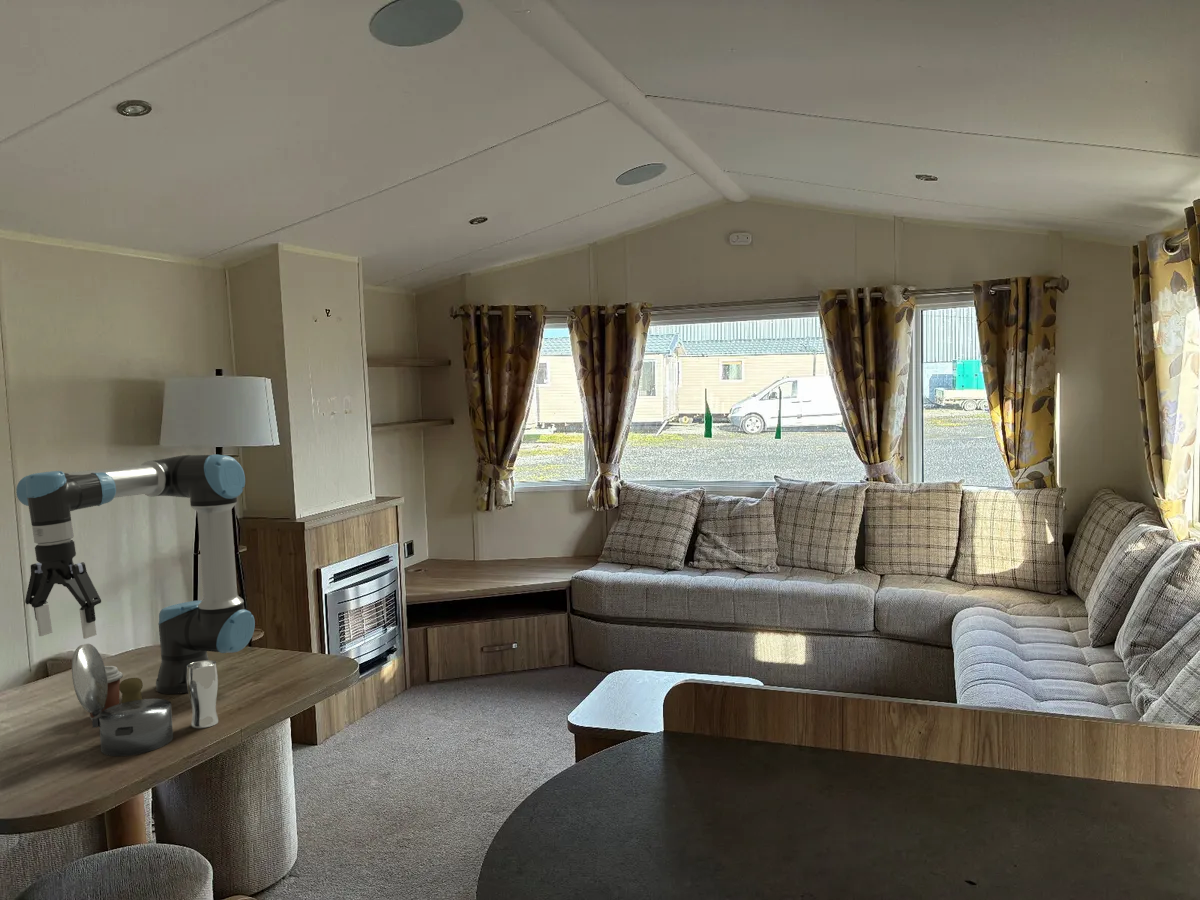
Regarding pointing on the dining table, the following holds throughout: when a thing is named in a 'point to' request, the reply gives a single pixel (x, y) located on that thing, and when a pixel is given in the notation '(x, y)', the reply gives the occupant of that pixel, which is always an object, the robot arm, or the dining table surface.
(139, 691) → the cork
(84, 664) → the lid
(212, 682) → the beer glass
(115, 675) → the coffee cup
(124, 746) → the cooker pot
